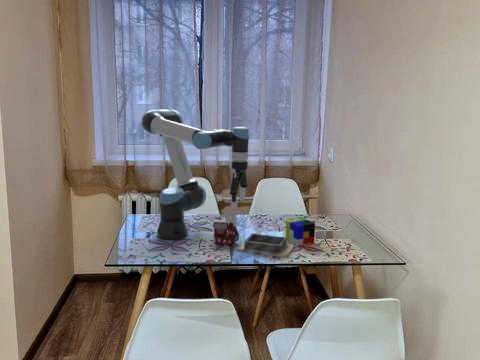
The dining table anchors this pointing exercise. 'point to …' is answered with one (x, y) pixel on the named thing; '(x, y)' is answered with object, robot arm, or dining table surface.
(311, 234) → the puzzle toy
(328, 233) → the dining table surface
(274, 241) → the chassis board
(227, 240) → the toy fire truck
